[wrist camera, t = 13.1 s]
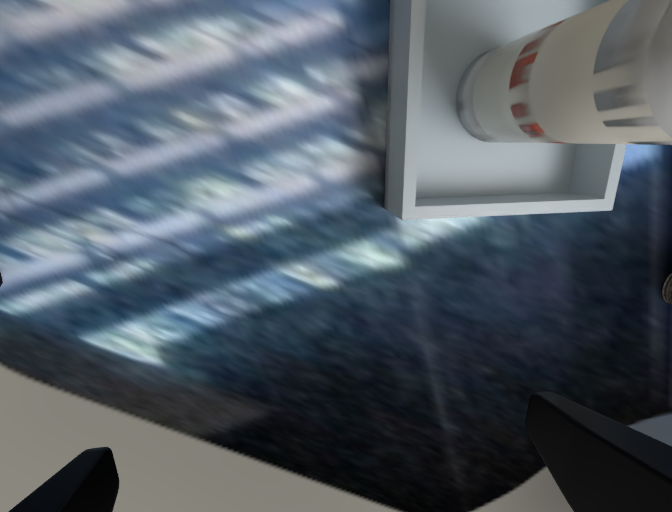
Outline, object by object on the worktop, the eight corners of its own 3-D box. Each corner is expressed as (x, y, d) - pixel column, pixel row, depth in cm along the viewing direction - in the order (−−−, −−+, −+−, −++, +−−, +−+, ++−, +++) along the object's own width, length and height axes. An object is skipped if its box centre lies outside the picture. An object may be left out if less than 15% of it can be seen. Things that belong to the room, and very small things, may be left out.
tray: (384, 208, 20) (402, 219, 17) (391, -37, 17) (414, -73, 14) (568, 201, 22) (612, 210, 19) (608, -24, 18) (669, -54, 16)
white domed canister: (442, 123, 19) (614, 108, 9) (479, 32, 18) (715, -92, 8) (512, 154, 20) (730, 168, 10) (552, 70, 19) (834, -1, 9)
